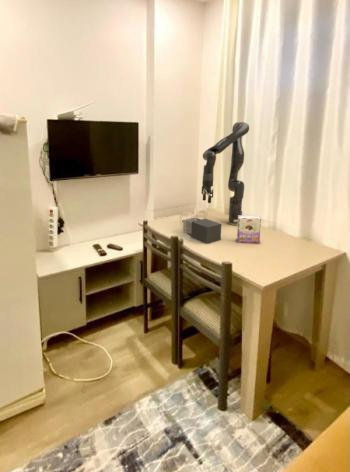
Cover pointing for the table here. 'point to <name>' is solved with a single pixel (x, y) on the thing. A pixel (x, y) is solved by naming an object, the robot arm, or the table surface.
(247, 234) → the candy box
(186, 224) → the drawer
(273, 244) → the table surface
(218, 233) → the dark grey rectangular block
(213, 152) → the robot arm
